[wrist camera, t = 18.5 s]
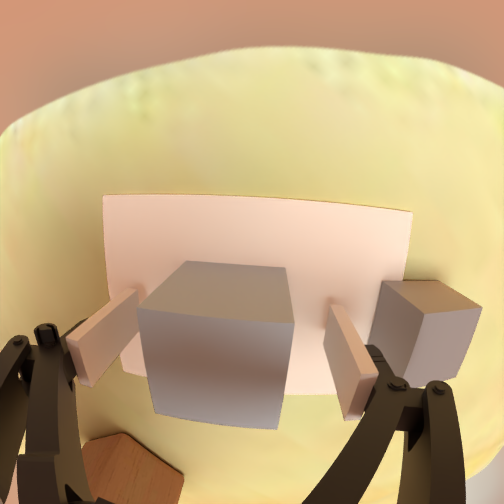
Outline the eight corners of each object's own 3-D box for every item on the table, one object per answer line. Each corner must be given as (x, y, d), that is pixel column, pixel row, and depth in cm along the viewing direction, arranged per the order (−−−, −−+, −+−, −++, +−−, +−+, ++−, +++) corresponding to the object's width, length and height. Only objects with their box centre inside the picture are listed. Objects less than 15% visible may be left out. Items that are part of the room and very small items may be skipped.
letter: (125, 369, 20) (123, 371, 19) (105, 195, 16) (102, 195, 16) (369, 389, 19) (370, 392, 18) (410, 211, 15) (412, 212, 15)
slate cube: (189, 343, 18) (155, 413, 11) (186, 260, 17) (136, 307, 10) (276, 352, 18) (277, 429, 11) (285, 267, 16) (294, 323, 10)
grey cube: (366, 348, 17) (396, 392, 12) (382, 280, 16) (424, 313, 11) (420, 341, 17) (455, 377, 12) (438, 280, 16) (482, 307, 11)
